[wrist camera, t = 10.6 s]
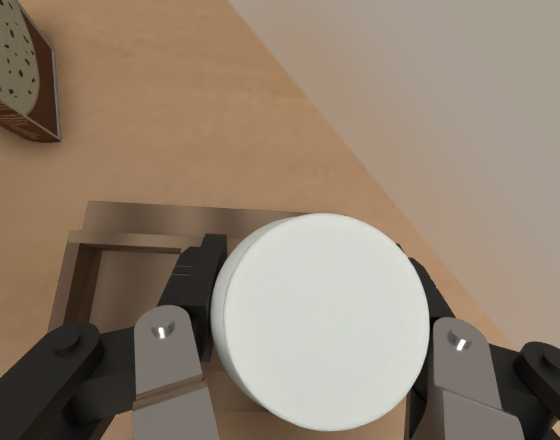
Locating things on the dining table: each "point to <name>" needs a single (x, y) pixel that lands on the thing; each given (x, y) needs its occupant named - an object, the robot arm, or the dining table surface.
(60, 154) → the dining table surface
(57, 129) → the food container
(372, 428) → the dining table surface
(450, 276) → the dining table surface
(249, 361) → the pill bottle
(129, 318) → the walnut organizer
